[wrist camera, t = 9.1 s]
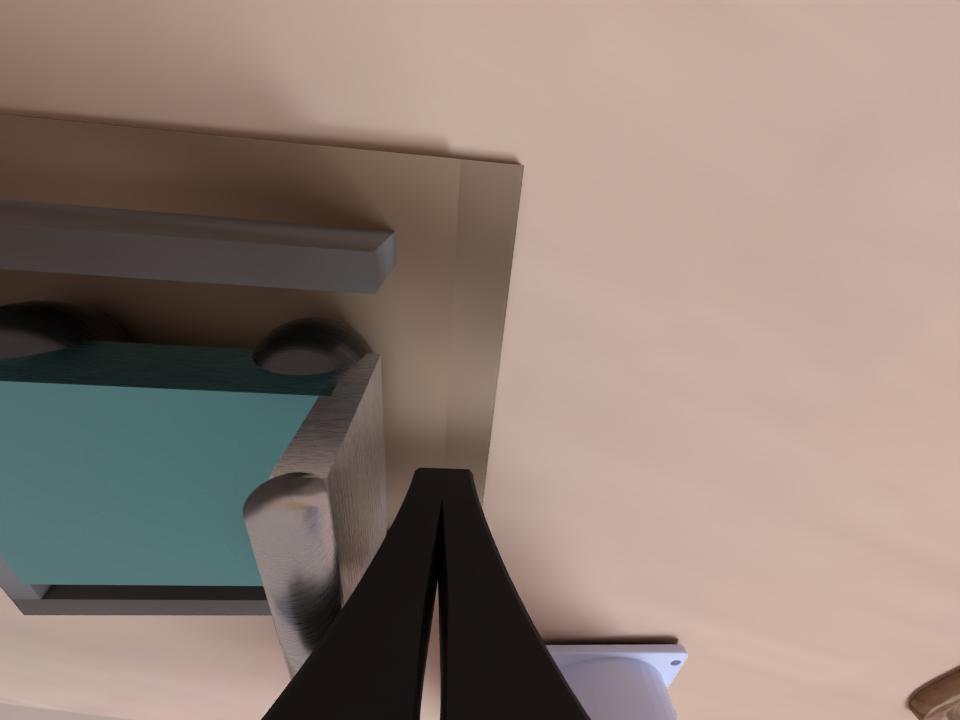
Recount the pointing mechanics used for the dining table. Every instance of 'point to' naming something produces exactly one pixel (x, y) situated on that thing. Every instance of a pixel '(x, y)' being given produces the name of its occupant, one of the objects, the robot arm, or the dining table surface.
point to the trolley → (192, 461)
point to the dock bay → (268, 280)
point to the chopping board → (939, 700)
